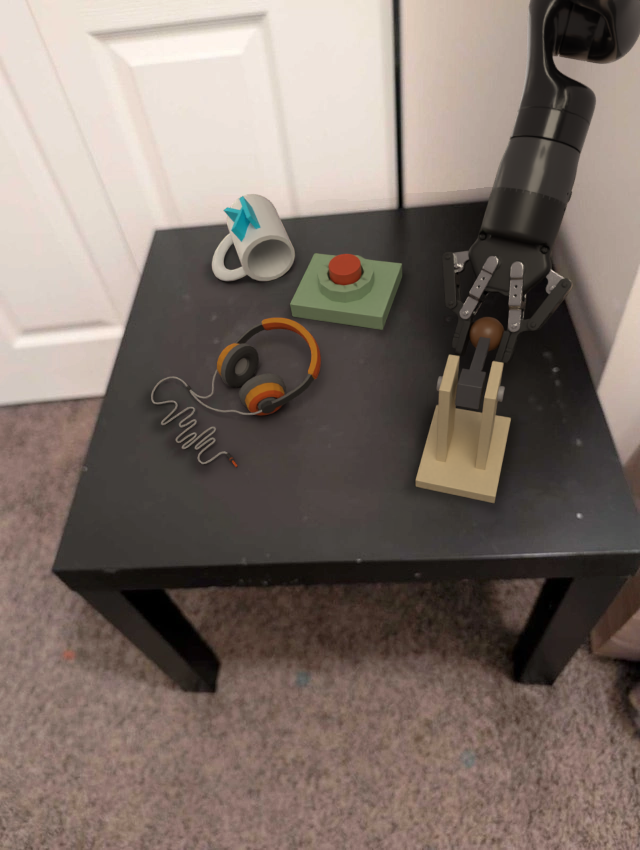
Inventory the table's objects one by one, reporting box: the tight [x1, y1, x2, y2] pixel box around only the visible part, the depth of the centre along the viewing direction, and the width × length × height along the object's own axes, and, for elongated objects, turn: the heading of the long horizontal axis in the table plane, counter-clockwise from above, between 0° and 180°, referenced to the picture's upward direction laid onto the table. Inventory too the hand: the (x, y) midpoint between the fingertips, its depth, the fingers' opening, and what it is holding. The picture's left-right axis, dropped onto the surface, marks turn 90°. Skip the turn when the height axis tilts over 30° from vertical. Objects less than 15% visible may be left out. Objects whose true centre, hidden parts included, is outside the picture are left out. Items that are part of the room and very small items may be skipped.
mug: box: [211, 193, 296, 282], centre depth 91 cm, size 12×9×12 cm
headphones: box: [150, 317, 322, 468], centre depth 77 cm, size 17×5×20 cm
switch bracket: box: [415, 354, 512, 504], centre depth 65 cm, size 10×8×13 cm
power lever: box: [455, 316, 505, 410], centre depth 66 cm, size 14×4×4 cm, turn 162°
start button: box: [329, 253, 362, 285], centre depth 83 cm, size 4×4×2 cm
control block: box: [289, 252, 403, 331], centre depth 85 cm, size 12×10×4 cm
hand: (479, 359), depth 71 cm, fingers closed on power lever, 3 cm apart
